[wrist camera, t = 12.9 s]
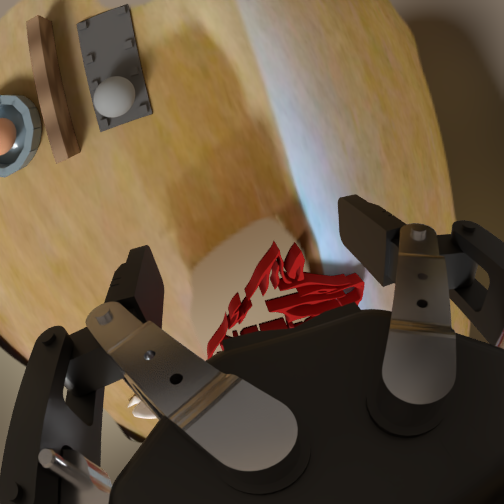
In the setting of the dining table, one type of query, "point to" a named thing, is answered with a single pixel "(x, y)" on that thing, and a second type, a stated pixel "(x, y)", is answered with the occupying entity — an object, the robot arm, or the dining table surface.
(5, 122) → the ball
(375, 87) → the dining table surface
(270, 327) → the decorative sculpture
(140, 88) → the tray
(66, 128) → the rail
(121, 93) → the grey ball
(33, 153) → the dish
